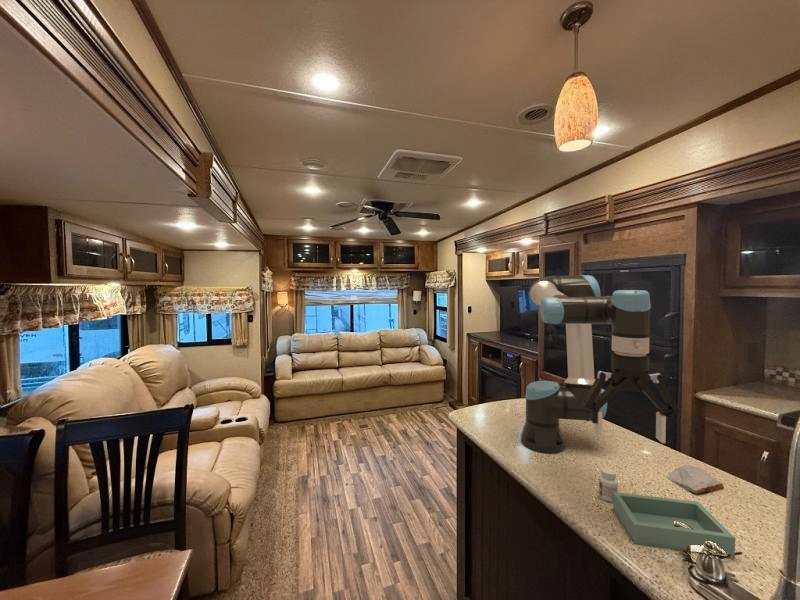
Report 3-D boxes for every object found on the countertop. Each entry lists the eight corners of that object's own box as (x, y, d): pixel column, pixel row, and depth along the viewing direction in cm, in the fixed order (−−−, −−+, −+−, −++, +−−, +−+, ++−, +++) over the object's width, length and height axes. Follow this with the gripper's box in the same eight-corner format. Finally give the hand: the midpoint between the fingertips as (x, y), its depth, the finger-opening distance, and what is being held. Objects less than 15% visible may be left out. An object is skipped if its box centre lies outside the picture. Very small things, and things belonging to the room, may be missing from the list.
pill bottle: (600, 490, 95) (600, 464, 94) (618, 496, 92) (618, 470, 92) (598, 498, 91) (598, 471, 91) (616, 505, 89) (616, 477, 88)
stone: (659, 476, 102) (659, 465, 102) (688, 471, 104) (688, 460, 104) (696, 497, 92) (696, 484, 92) (727, 490, 94) (727, 478, 94)
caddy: (612, 508, 87) (613, 492, 87) (697, 519, 83) (698, 501, 82) (634, 543, 75) (634, 524, 75) (734, 558, 71) (735, 537, 70)
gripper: (578, 354, 79) (577, 440, 80) (700, 358, 73) (698, 450, 74) (569, 348, 86) (569, 427, 87) (680, 351, 80) (678, 435, 81)
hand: (628, 438), depth 80 cm, fingers open, 13 cm apart
